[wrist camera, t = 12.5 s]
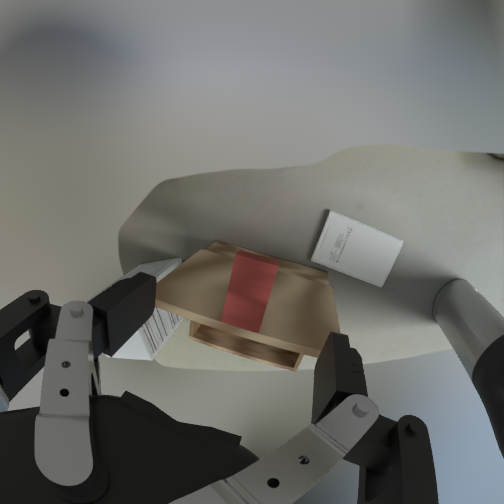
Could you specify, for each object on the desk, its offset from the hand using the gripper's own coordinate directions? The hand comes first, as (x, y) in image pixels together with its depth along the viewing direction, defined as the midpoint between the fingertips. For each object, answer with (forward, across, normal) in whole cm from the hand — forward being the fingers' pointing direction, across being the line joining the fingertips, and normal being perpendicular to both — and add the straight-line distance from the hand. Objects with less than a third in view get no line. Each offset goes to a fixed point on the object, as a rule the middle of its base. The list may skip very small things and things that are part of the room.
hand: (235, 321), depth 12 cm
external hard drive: (+31, -12, +3) cm, 34 cm away
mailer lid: (+16, +1, +8) cm, 18 cm away
